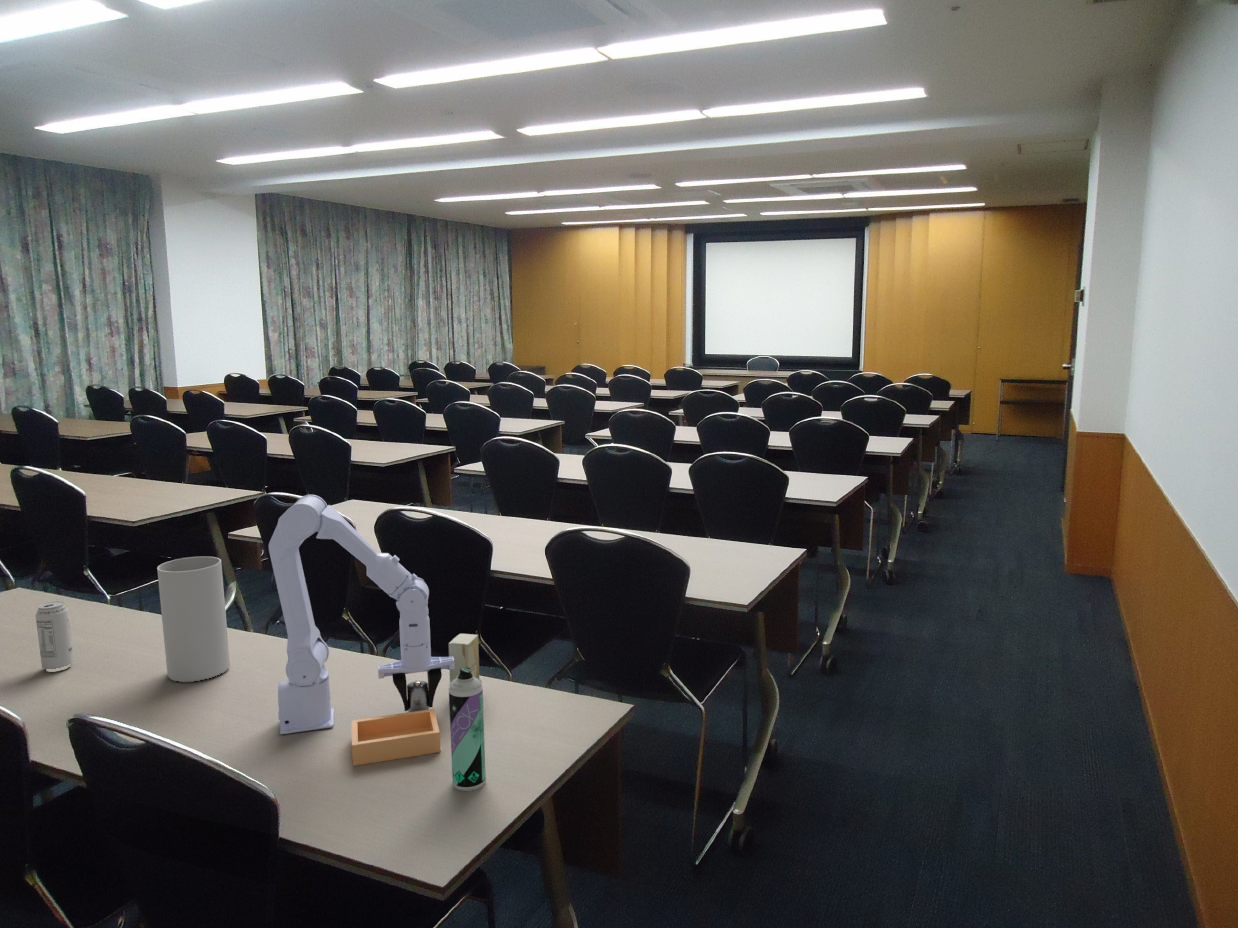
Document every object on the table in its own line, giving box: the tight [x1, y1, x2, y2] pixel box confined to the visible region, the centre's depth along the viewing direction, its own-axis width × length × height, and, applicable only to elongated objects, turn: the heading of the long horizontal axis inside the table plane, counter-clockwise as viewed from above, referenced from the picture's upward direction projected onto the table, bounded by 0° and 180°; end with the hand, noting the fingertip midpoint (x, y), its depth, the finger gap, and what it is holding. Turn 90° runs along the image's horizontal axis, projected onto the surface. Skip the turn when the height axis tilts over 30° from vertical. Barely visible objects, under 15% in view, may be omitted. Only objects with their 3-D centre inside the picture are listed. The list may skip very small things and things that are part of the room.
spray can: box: [448, 667, 487, 792], centre depth 138 cm, size 6×6×20 cm
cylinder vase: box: [156, 556, 231, 683], centre depth 184 cm, size 12×12×25 cm
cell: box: [407, 680, 430, 712], centre depth 164 cm, size 4×4×7 cm
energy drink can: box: [35, 601, 75, 670], centre depth 188 cm, size 6×6×15 cm
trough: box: [351, 708, 442, 767], centre depth 152 cm, size 15×10×4 cm, turn 108°
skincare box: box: [448, 633, 480, 683], centre depth 172 cm, size 6×4×12 cm
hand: (418, 706), depth 164 cm, fingers closed on cell, 4 cm apart
